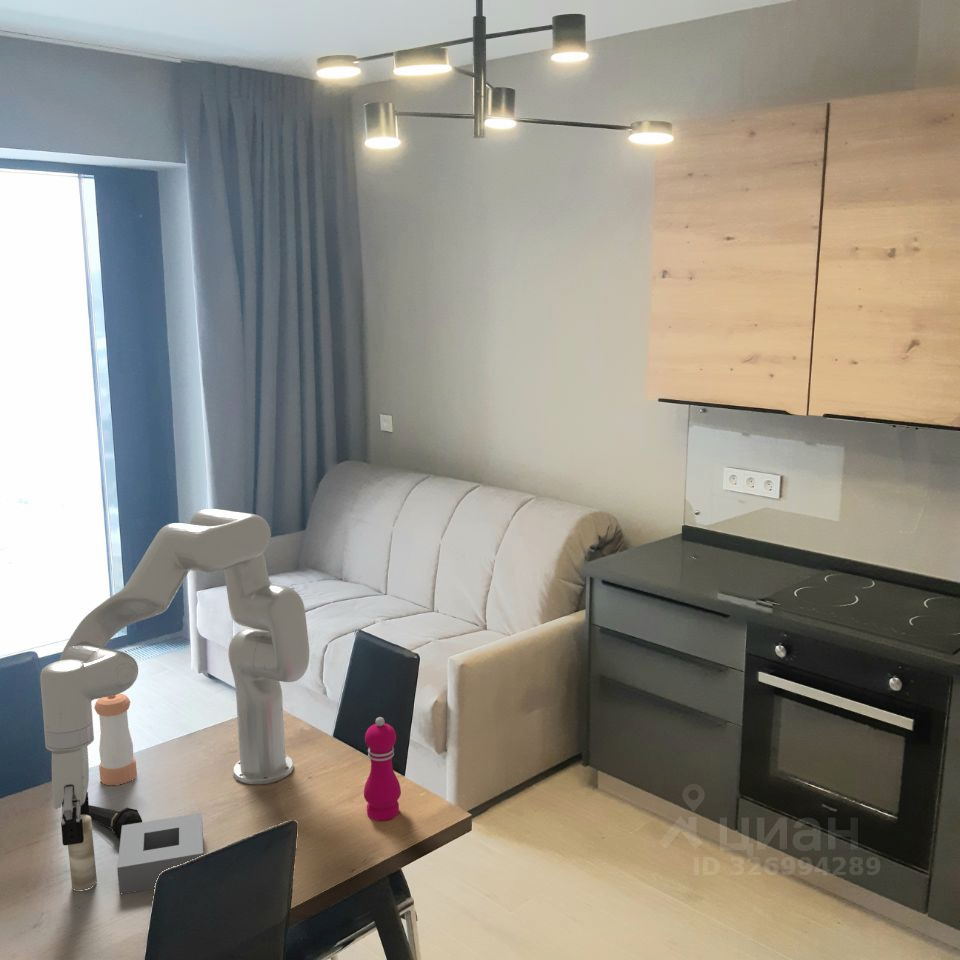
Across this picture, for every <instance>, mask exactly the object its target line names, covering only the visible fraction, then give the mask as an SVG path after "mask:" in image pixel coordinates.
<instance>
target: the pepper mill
mask: <svg viewBox="0 0 960 960" xmlns="http://www.w3.org/2000/svg"><path fill="white" fill-rule="evenodd" d="M364 742H365V744H366V746H367V748H368V749H367V753H368V754H367V756H368V758H369V759H370V772H369V775H368V777H367V779H366V782H365V784H364V789H363V798H364V799H365V801H366V802H367V804H366V815H367V817H368V818H369V819H371V820H373V821H377V822H378V821H380V822H384V821H385V820H386V821H389V820H393V819H394V818H396V817H397V816H398V814H399V812H400V811H399V810H400V805H399V799H400V797H401V794H402V793H401V792H402V790H401V785H400V781H399V779H398V778H397V775H396V773H395V771H394V767H393V763H392V762H393V760H392V759H393V757H394V755H395V752H394V751H395V747H394V745H395V743H396V742H397V734H396V731H395V729H394V728H393V726H391V725H390V724H388V723H385V719H384V717H383V716H382V717H381V716H379V717H376V719H375V723H374V724H372V725H370V726H369V727H368V728H367V730H366V731H365V735H364Z"/></svg>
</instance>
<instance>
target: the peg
mask: <svg viewBox="0 0 960 960" xmlns="http://www.w3.org/2000/svg"><path fill="white" fill-rule="evenodd" d="M80 819H82V822H83V835H84V841H83V843H79V844H72V845H67V849H68V850H67V851H68V860H69V871H70V878H71V889H72V888H73V889H75V890H85V889H88V888H91V887H92V886H94V885H95V884H96V882H97V883H98V880H97V878H98V877H97V869H96V857H95V845H94V834H93V825H92V824H93V823H92V820H91V817H90V816H88V815H80ZM96 885H97V884H96ZM96 885H95V886H96ZM95 886H94V887H95ZM73 889H72V890H73ZM91 889H92V888H91ZM75 890H74V891H75Z"/></svg>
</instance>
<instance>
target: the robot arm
mask: <svg viewBox="0 0 960 960" xmlns="http://www.w3.org/2000/svg"><path fill="white" fill-rule="evenodd" d="M189 522H190V523H186V522H185V523H183V522H182V523H181V522H174V523H172V522H171V523H168V524H166V525H164V526H163V527H161V528H160V529H159V531H158V532H157V533H156V535H155V536H154V538H153V540H152V541H151V543H150V544H149V546H148V548H147V550H146V551H145V553H144V554H143V556H142V558H141V559H140V561H139V563H138V565H137V566H136V568H135V569H134V571H133V572H132V574H131V576H130V577H129V579H128V580H127V582H126V583H125V585H124V587H123V588H122V589H121V590H119V591H118V592H116V593H115V594H113V595H111V596H110V597H109V598H107V599H106V600H104V601H103V602H102V603H100V604H99V605H98V606H96V607H95V608H94V609H92V610H91V611H90V612H89V613H88V614H87V615H86V616H84V617H83V619H82V620H81V622H80V623H79V624H78V625H77V626H76V629H75V630H74V631H73V633H72V634H71V636H70V638H69V639H68V641H67V642H66V643H65V646H64V648H63V650H62V652H61V655H60V658H59V660H58V661H54V662H51V663H49V664H47V665H45V666H44V667H43V668H42V670H40V671H41V672H40V677H39V679H40V690H41V693H40V694H41V695H40V696H41V703H42V705H41V706H42V715H43V717H42V718H43V730H44V732H43V733H44V744H45V745H44V746H45V748H46V750H48V751H50V752H51V784H52V787H51V788H52V807H53V809H54V810H58V809H60V808H61V822H60V825H61V827H60V828H61V841H62V845H63V846H68V845H72V844H79V843H83V841H84V835H83V822H82V819H80V815H87V814H88V813H89V805H90V804H89V803H90V802H89V791H88V788H89V782H90V781H89V778H90V774H89V773H90V767H89V749H88V746H89V745H91V744H92V743H93V742H94V740H95V736H94V735H95V734H94V722H93V721H94V720H93V719H94V718H93V706H92V701H94V700H98V699H99V698H103V697H108V696H113V695H117V694H123V693H124V692H126V691H127V690H129V689H130V688H132V686H133V685H134V683H136V680H137V678H138V676H139V664H138V663H137V660H136V659H135V658H134V657H133V656H131V655H130V654H129V653H127V652H124V651H121V650H117V649H112V648H109V647H106V646H107V644H108V643H109V641H111V639H112V638H113V637H114V636H115V635H116V634H118V633H119V632H120V631H121V630H123V629H125V628H126V627H128V626H131V625H132V624H135V623H138V622H140V621H144V620H147V619H150V618H153V617H156V616H158V615H161V614H163V613H164V612H166V611H167V610H168V609H169V606H170V605H171V604H172V602H173V600H174V598H175V596H176V594H177V593H178V591H179V589H180V587H182V584H183V582H184V581H185V579H186V577H187V576H188V574H189V572H191V571H192V572H193V571H194V572H198V573H199V572H200V573H205V574H210V573H217V572H221V571H223V573H224V579H225V586H226V593H227V600H228V608H229V612H230V616H231V618H232V620H233V622H234V623H236V624H237V625H240V626H242V627H246V628H245V629H242V630H240V631H238V632H237V633H236V634H235V635H234V636H233V637H232V639H231V640H230V643H229V644H228V661H229V665H230V669H231V673H232V676H233V681H234V686H235V687H234V688H235V697H236V698H235V699H236V717H237V731H238V745H239V746H238V747H239V748H238V750H239V760H238V761H237V762H236V763H235V765H234V766H233V769H232V771H233V772H232V773H233V777H234V778H235V779H236V780H237V781H239V782H240V783H243V784H248V785H266V784H271V783H275V782H278V781H280V780H283V779H284V778H286V777H288V776H289V775H290V774H291V773H292V771H293V770H294V761H293V759H292V758H291V757H290V756H289V755H286V744H285V743H286V742H285V721H284V707H283V706H284V705H283V704H284V701H283V689H282V686H281V682H283V683H293V682H297V681H299V680H301V678H303V676H304V675H305V674H306V673H307V669H308V667H309V664H310V644H309V642H310V641H309V633H308V626H307V625H308V624H307V617H306V616H307V615H306V609H305V604H304V602H303V599H302V597H301V596H300V594H299V593H298V592H297V591H296V590H294V589H293V588H291V587H289V586H285V585H279V584H274V583H272V582H271V580H270V579H269V574H268V569H267V562H266V557H265V555H264V552H265V551H266V550H267V548H268V546H269V544H270V542H271V535H272V532H271V528H270V525H269V523H268V522H267V520H266V519H265V518H264V517H262V516H260V515H258V514H254V513H248V512H241V511H233V510H226V509H218V508H205V509H200V510H198V511H196V512H195V513H193V514H192V517H191V519H190V521H189Z"/></svg>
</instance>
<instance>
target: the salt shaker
mask: <svg viewBox="0 0 960 960" xmlns="http://www.w3.org/2000/svg"><path fill="white" fill-rule="evenodd" d="M130 705H131V701H130V698H129V697H128V696H127V694H125V693H120V694H117V695H113V696H108V697H103V698H98V699H96V702H95V704H94V711H95V712H96V714H97V715H98V717H99V729H100V737H99V752H98V753H99V758H100V759H99V760H100V763H99V765H98V766H99V769H98V770H99V780H101V781H100V783H101V782H102V783H104V784H106V785H105V786H108V785H116V786H121V785H120V784H122V785H124V784H123V783H125V784H128V783H130V782H132V781H133V780H135V779H136V777H137V776H136V775H137V774H138V772H137V770H138V769H137V760H136V758H135V756H134V744H133V739H132V736H131V732H130V728H129V719H128V710H129V708H130ZM132 779H133V780H132ZM131 780H132V781H131ZM129 781H130V782H129ZM127 782H128V783H127ZM102 783H101V784H102ZM104 784H103V785H104Z"/></svg>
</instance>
